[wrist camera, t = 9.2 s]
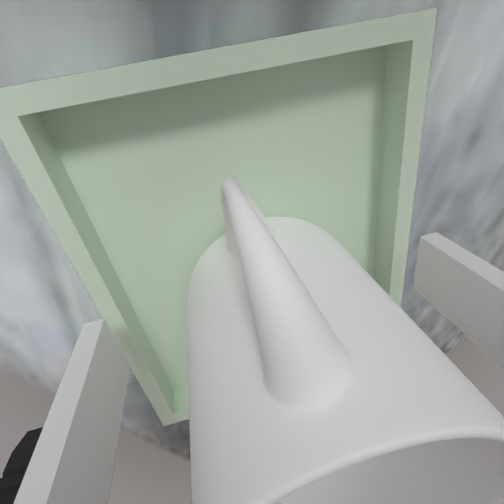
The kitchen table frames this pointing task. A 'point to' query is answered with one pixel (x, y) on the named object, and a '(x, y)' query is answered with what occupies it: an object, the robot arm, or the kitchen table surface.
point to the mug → (322, 380)
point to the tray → (222, 166)
